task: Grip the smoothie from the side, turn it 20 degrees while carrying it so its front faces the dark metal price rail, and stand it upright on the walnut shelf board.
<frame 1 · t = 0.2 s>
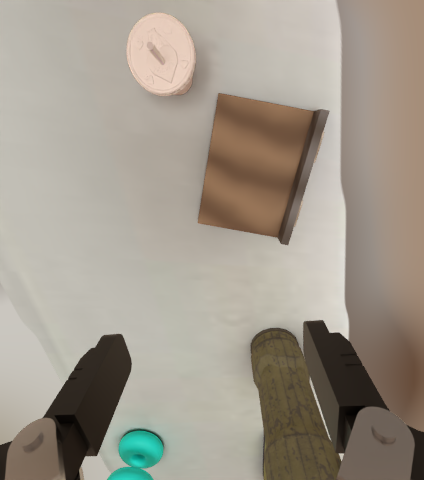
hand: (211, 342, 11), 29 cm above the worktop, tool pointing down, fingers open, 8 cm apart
donuts: (143, 440, 59), on the worktop
shelf board: (253, 171, 36), on the worktop
thermos: (273, 346, 48), on the worktop
smoothie: (178, 78, 33), on the worktop
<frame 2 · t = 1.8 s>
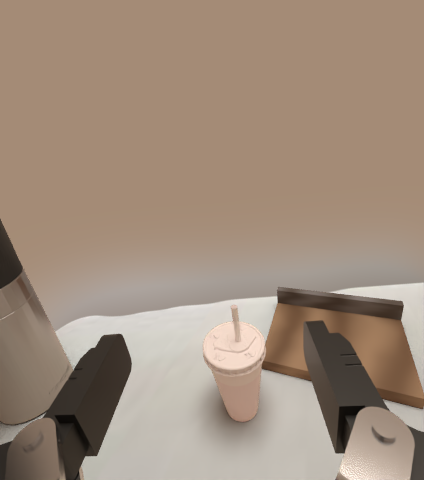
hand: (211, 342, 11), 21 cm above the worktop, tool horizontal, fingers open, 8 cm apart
shelf board: (333, 344, 36), on the worktop
smoothie: (242, 406, 30), on the worktop
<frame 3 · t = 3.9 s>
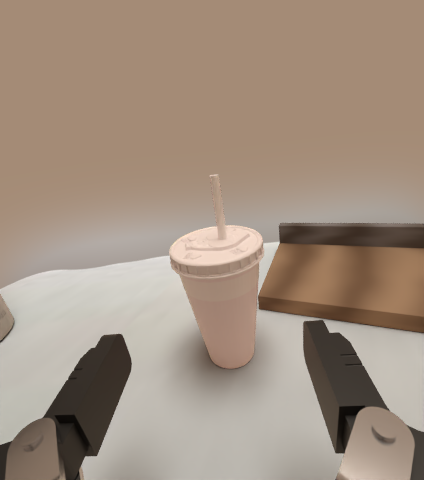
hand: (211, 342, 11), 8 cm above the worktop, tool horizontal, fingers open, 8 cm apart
shelf board: (354, 281, 27), on the worktop
smoothie: (231, 351, 21), on the worktop
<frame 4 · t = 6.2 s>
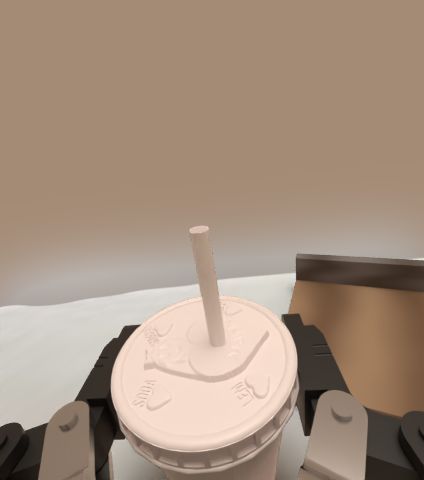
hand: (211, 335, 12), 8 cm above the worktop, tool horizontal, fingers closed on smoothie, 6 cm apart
shelf board: (409, 350, 19), on the worktop
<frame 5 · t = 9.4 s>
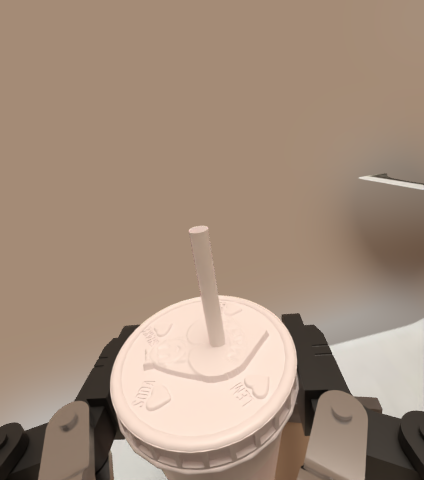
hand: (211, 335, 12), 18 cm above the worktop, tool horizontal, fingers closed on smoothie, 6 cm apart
when the fingers open (11 cm above the worktop, at t = 12.3 s): smoothie drops 1 cm, resting on shelf board.
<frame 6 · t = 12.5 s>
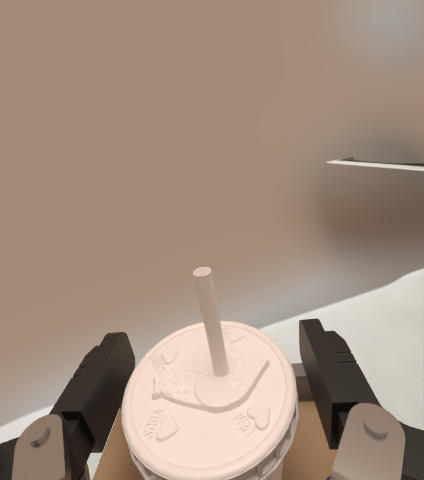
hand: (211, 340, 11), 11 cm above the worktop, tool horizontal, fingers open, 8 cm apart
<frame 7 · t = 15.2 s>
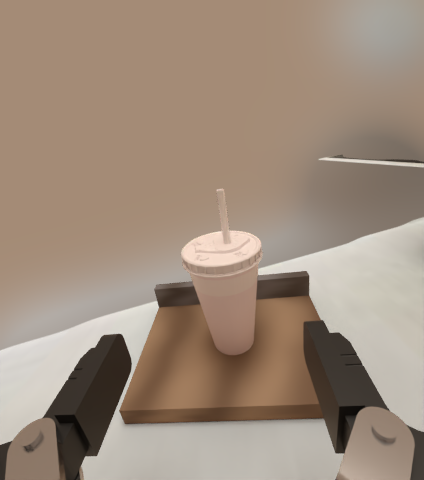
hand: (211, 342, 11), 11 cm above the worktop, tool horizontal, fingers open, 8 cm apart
shelf board: (234, 349, 25), on the worktop
smoothie: (233, 340, 24), point 1 cm above the worktop, touching shelf board
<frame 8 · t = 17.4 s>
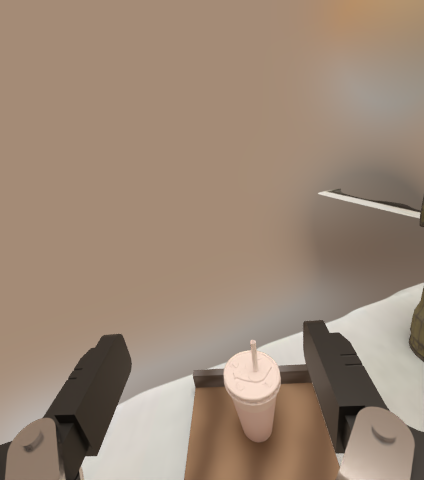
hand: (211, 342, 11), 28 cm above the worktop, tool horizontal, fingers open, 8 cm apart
shelf board: (257, 432, 33), on the worktop
smoothie: (257, 427, 33), point 1 cm above the worktop, touching shelf board
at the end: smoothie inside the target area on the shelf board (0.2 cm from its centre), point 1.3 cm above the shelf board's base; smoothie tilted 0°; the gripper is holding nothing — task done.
